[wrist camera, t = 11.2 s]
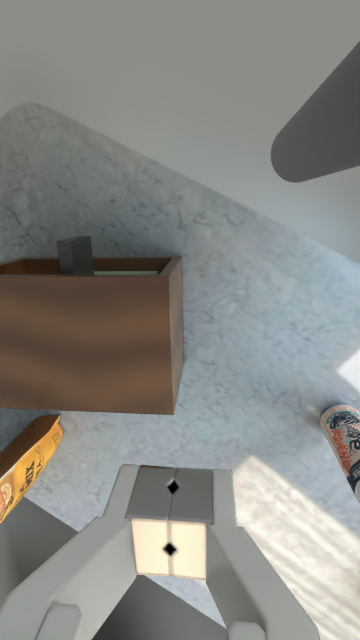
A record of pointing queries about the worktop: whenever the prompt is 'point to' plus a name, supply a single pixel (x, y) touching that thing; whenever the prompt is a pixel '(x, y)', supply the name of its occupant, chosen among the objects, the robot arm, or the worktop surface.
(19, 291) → the brown wooden box
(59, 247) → the sliding door
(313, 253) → the worktop surface
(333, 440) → the beer can
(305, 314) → the worktop surface
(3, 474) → the pancake mix bag
